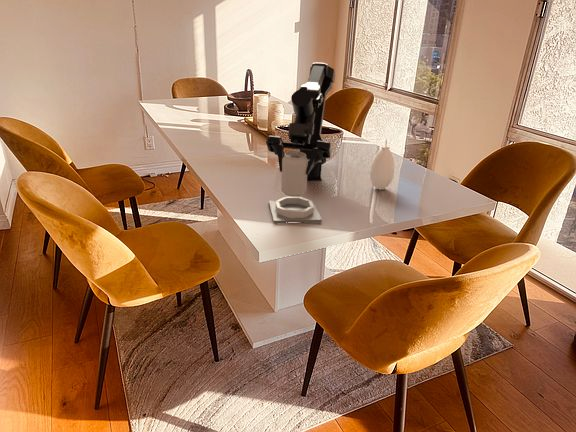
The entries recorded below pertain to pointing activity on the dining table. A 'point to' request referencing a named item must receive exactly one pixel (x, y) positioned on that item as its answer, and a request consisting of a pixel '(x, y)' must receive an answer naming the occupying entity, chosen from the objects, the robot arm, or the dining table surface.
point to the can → (294, 173)
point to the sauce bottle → (382, 168)
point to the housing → (294, 210)
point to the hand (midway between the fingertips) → (293, 172)
